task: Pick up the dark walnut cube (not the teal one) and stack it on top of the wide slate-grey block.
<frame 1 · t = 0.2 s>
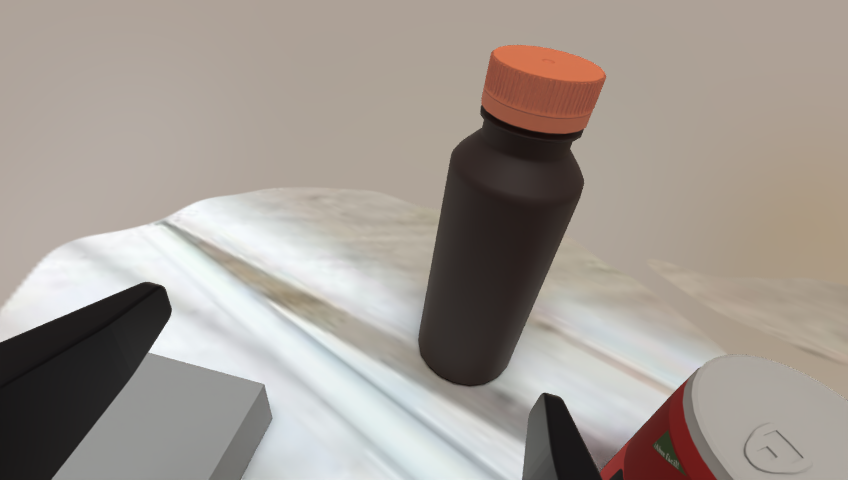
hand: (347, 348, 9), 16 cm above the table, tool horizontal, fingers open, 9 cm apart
slate block: (180, 464, 22), on the table
bottle: (462, 347, 30), on the table
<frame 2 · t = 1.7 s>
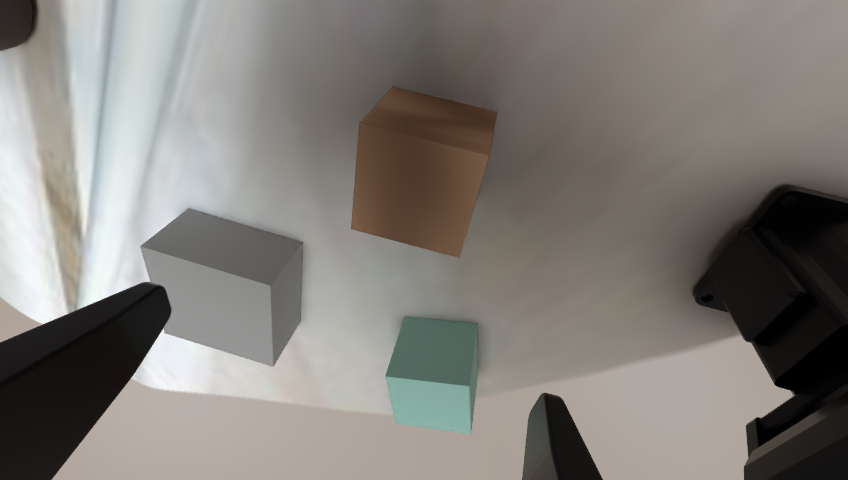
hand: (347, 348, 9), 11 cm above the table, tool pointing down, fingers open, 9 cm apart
walnut cube: (435, 147, 19), on the table
slate block: (250, 266, 26), on the table
teal cube: (442, 343, 26), on the table
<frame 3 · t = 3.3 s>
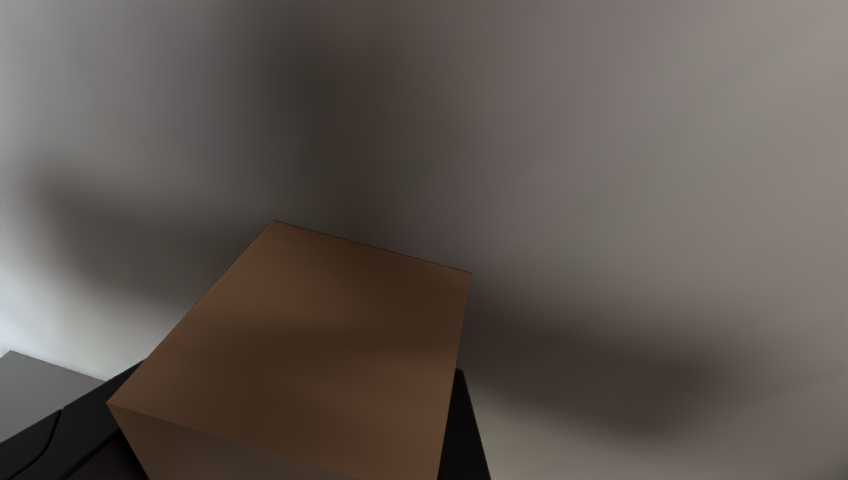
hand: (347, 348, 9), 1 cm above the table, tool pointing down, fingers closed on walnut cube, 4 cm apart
walnut cube: (362, 315, 10), on the table, touching gripper
slate block: (122, 419, 18), on the table
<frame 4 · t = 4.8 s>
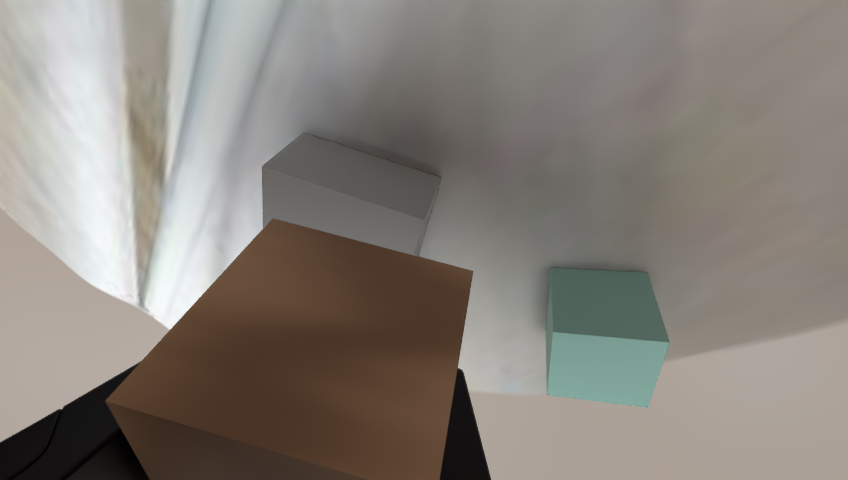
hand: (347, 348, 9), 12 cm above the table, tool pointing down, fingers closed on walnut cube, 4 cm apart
walnut cube: (363, 313, 10), point 11 cm above the table, touching gripper
slate block: (363, 210, 22), on the table
teal cube: (592, 301, 22), on the table
when the fingers open (6 cm above the table, at t = 6.4 s): walnut cube drops 1 cm, resting on slate block.
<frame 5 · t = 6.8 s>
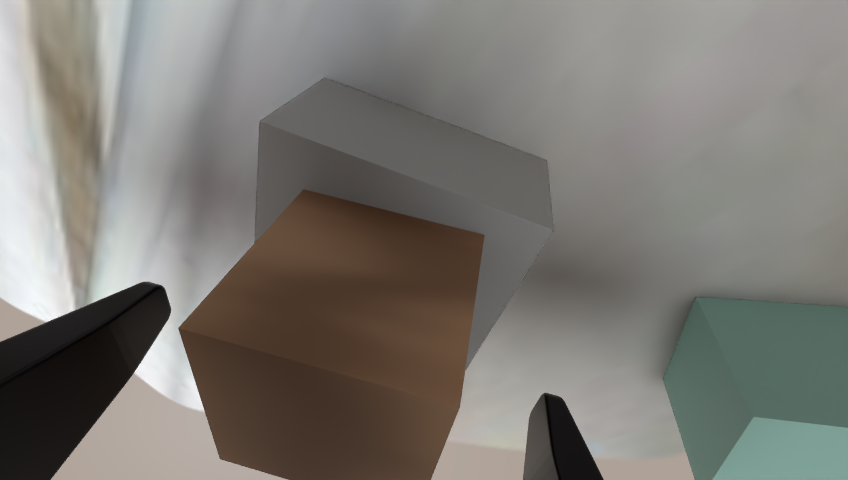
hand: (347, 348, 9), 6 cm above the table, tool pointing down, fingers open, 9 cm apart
walnut cube: (383, 279, 11), point 4 cm above the table, touching slate block
slate block: (407, 207, 14), on the table, touching walnut cube
teal cube: (746, 345, 15), on the table
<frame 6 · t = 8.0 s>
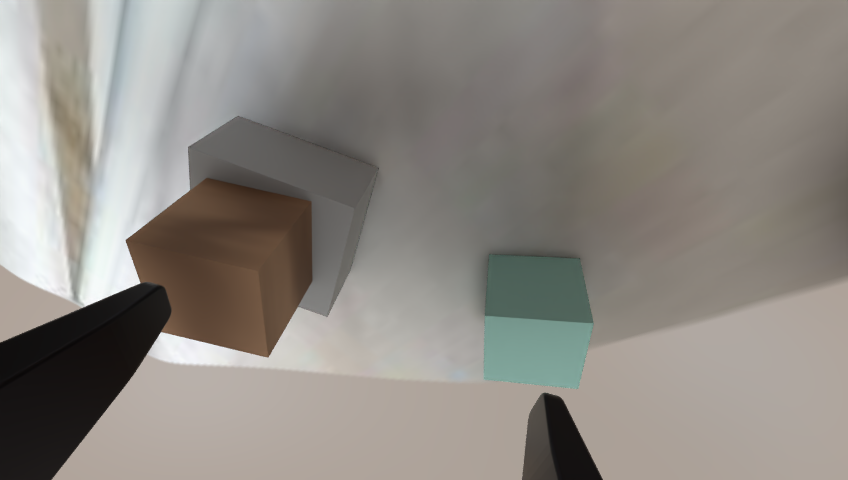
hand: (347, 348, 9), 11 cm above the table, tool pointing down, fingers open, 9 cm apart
walnut cube: (263, 233, 18), point 4 cm above the table, touching slate block
slate block: (302, 198, 22), on the table, touching walnut cube
teal cube: (530, 288, 22), on the table
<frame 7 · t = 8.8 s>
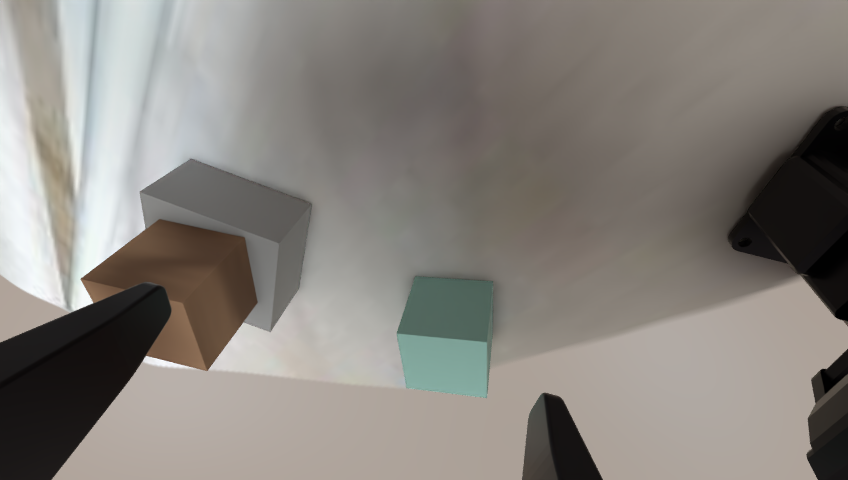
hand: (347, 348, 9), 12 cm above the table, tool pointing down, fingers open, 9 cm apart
walnut cube: (211, 263, 21), point 4 cm above the table, touching slate block
slate block: (251, 227, 25), on the table, touching walnut cube
teal cube: (455, 306, 25), on the table
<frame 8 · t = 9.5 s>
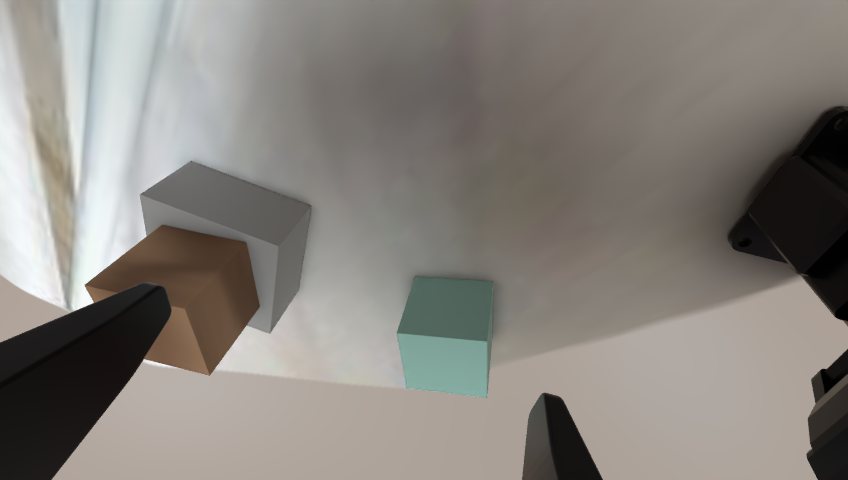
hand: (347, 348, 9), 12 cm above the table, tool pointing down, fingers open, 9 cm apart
walnut cube: (213, 267, 21), point 4 cm above the table
slate block: (251, 229, 25), on the table
teal cube: (455, 306, 25), on the table
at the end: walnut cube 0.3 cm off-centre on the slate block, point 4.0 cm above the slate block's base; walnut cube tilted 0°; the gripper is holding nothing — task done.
